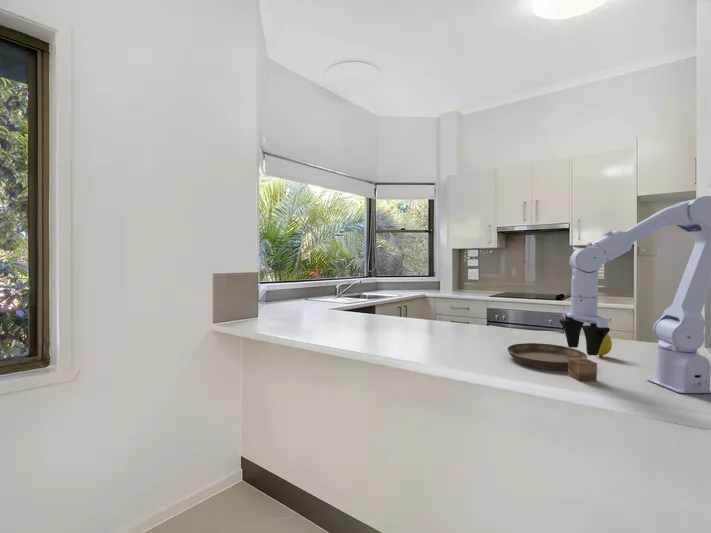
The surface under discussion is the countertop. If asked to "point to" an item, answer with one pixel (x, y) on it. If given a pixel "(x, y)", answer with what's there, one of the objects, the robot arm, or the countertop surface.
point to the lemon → (605, 346)
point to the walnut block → (582, 369)
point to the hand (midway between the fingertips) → (582, 351)
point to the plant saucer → (544, 355)
